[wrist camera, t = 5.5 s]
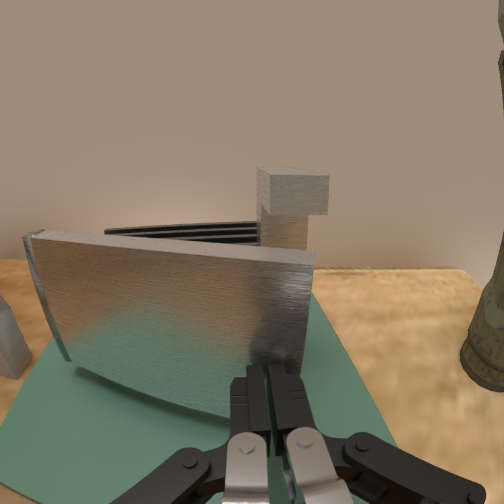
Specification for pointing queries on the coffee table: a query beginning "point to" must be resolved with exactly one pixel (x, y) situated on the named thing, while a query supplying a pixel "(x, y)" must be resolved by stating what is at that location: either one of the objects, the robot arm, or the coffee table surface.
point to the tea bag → (11, 344)
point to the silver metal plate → (172, 310)
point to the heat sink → (164, 412)
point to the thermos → (489, 309)
